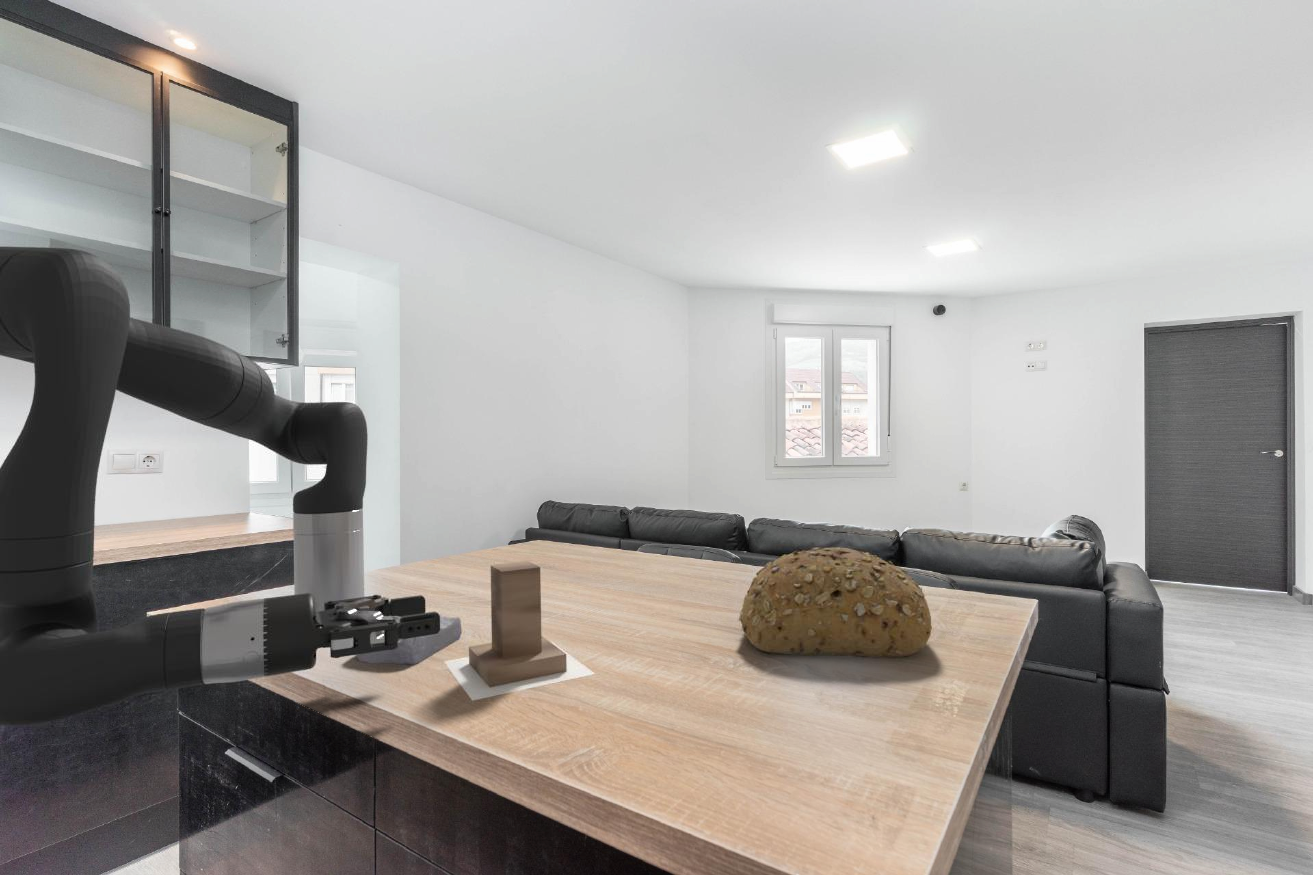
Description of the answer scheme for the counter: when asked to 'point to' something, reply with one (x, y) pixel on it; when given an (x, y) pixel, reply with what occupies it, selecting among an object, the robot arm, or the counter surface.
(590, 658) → the counter surface
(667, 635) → the counter surface
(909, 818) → the counter surface
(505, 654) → the walnut stamp
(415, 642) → the stone block
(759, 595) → the bread
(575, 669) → the tile
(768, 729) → the counter surface
